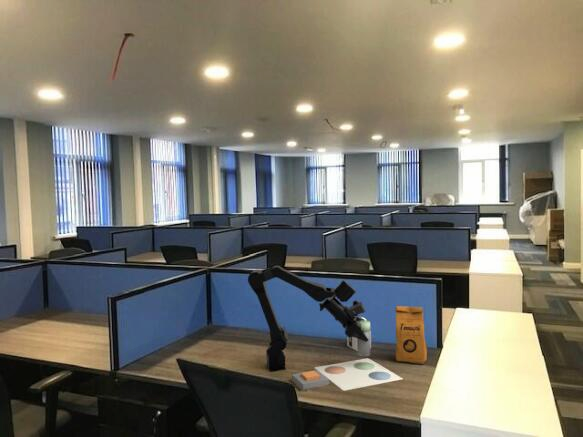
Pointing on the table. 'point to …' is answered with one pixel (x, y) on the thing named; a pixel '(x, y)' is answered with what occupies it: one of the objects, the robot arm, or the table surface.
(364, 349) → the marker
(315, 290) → the robot arm
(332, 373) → the white square board
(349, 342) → the container
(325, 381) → the button housing
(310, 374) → the button
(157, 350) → the table surface
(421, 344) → the coffee package
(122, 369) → the table surface
